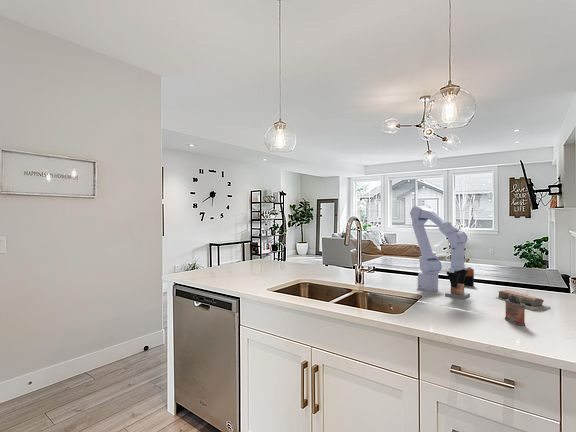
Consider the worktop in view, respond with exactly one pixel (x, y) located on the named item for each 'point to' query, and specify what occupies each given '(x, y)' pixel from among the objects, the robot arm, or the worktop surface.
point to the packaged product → (524, 300)
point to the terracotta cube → (458, 289)
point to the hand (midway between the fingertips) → (457, 286)
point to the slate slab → (457, 295)
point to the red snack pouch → (515, 310)
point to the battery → (469, 277)
